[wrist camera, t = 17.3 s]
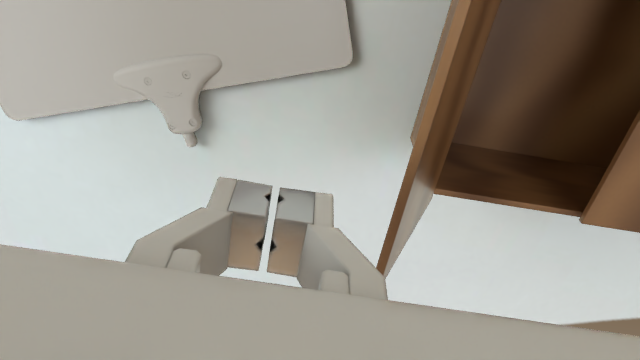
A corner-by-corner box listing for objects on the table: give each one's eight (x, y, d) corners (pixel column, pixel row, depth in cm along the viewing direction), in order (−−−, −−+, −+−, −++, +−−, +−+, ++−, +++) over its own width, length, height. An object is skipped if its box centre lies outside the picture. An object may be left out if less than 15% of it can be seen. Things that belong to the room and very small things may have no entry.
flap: (431, 199, 29) (424, 196, 29) (519, -52, 22) (510, -54, 22) (378, 291, 22) (369, 287, 22) (485, -43, 15) (472, -46, 15)
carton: (410, 137, 36) (428, 200, 29) (472, -70, 29) (517, -54, 22) (650, 178, 37) (724, 247, 30) (766, -11, 30) (896, 22, 23)
